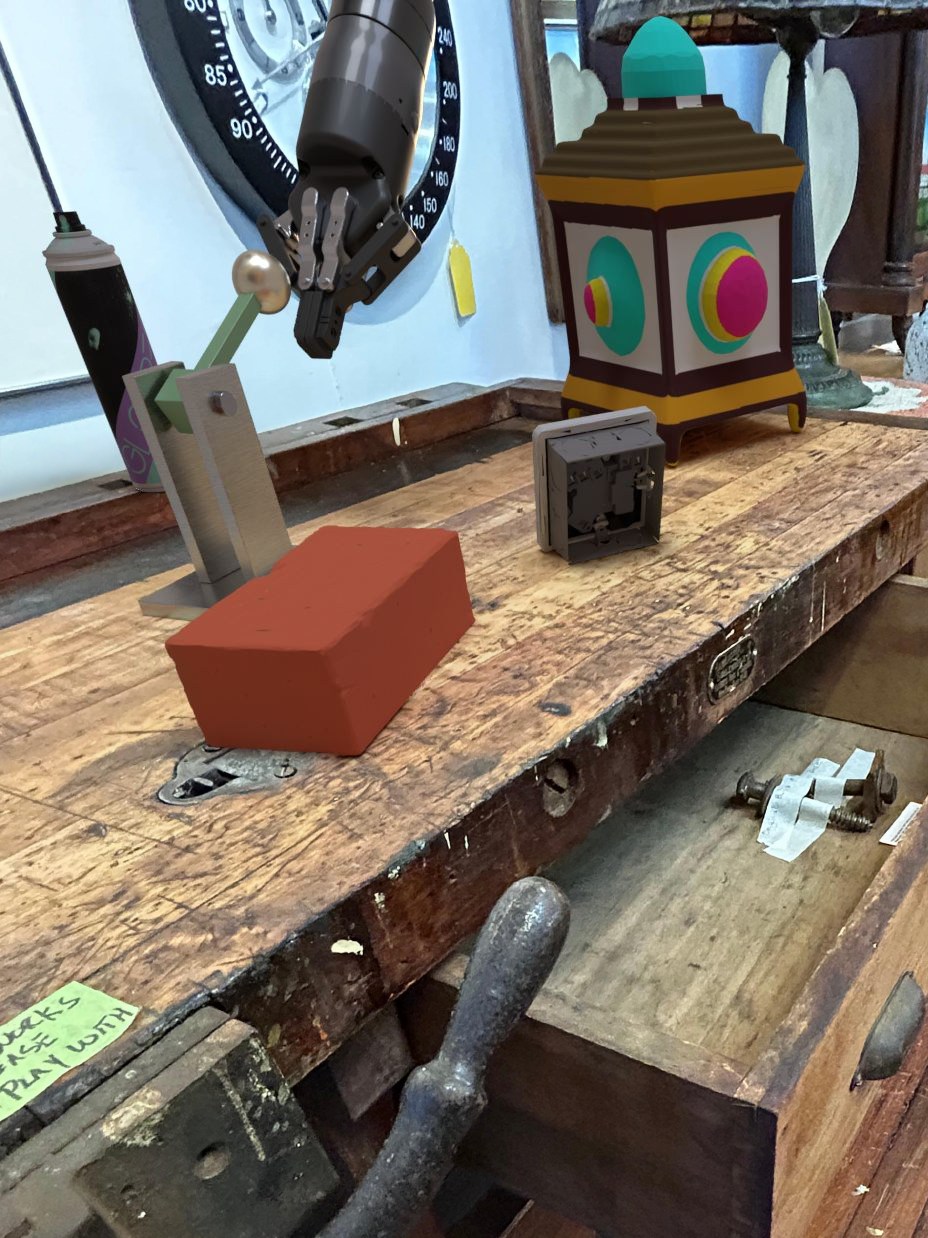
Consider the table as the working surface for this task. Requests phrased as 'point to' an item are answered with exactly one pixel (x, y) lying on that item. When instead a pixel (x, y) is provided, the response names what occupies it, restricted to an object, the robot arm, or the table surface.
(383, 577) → the brick
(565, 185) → the decorative lantern
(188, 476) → the switch bracket
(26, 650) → the table surface
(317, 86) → the robot arm
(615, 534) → the electrical switch
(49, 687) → the table surface
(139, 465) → the spray can
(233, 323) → the switch lever
